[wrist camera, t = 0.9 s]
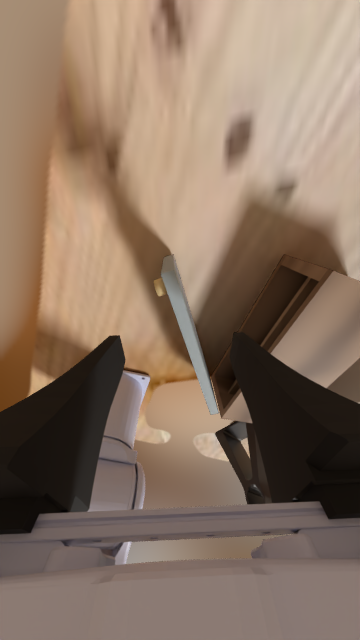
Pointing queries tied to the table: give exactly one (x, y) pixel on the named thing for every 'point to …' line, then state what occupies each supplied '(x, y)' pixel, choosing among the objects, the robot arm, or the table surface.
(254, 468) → the phone stand
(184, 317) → the door
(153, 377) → the table surface
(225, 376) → the cabinet
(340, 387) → the grey curved piece
